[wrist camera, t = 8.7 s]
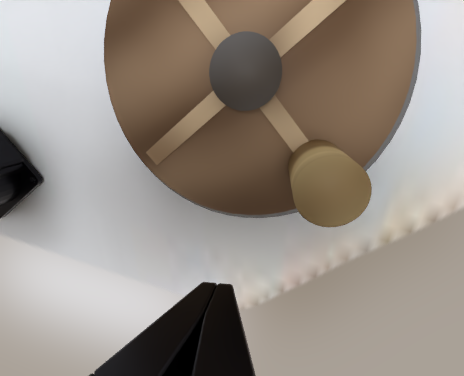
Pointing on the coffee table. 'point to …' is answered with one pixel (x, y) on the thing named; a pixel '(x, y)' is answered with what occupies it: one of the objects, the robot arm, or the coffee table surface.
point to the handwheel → (261, 97)
